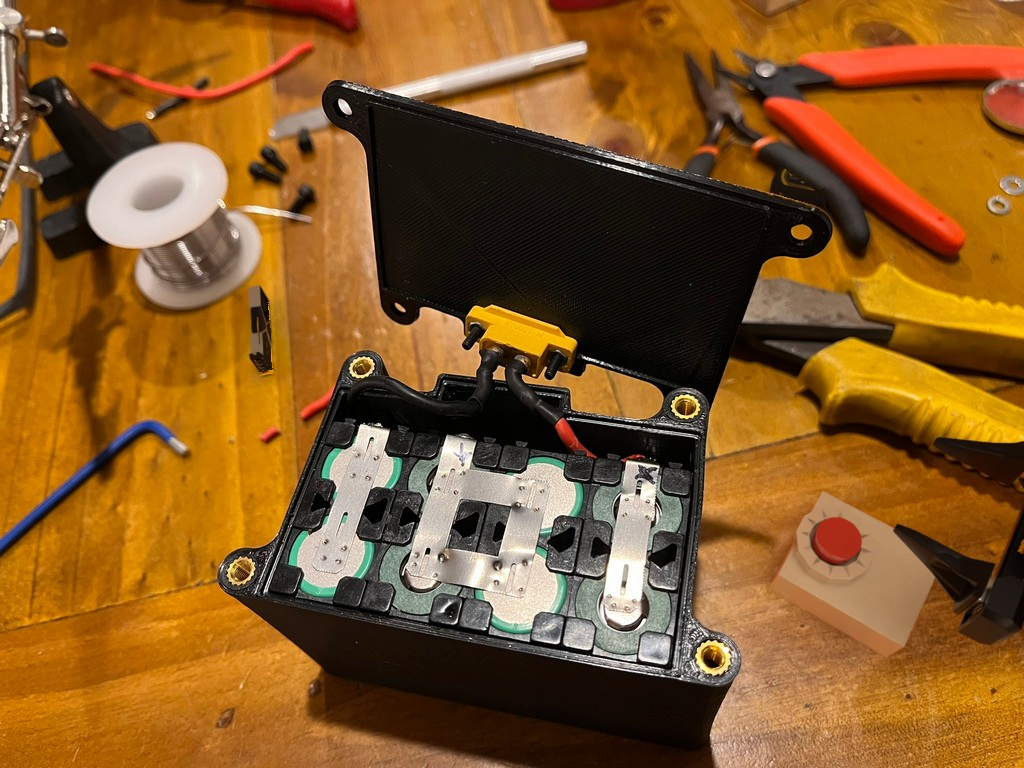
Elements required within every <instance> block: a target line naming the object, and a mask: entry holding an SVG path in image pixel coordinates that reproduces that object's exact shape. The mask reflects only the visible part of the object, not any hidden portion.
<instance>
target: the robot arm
mask: <svg viewBox="0 0 1024 768" xmlns="http://www.w3.org/2000/svg"><path fill="white" fill-rule="evenodd" d="M932 446H933V447H935V448H936V449H938V450H939V451H940V452H942V453H944V454H945V455H947V456H949V457H951V458H952V459H954V460H956V461H958V462H960V463H962V464H964V465H966V466H968V467H970V468H972V469H973V470H976V471H977V472H979V473H982V474H984V475H986V476H988V477H989V478H991V479H993V480H995V481H997V482H999V483H1001V484H1003V485H1005V486H1007V487H1011V486H1012V485H1013V484H1014V483H1015V482H1016V481H1017V480H1018V482H1019V484H1020V486H1021V487H1022V489H1023V490H1024V440H1020V441H1015V442H995V441H994V442H993V441H983V440H982V441H981V440H974V439H973V440H972V439H962V438H953V437H944V436H943V437H942V436H937V437H936V438H935V439H934V441H933V443H932ZM893 528H894V529H893V532H894V533H895V534H896V535H897V536H898V537H899V538H900V539H901V540H902V542H903V543H904V544H905V545H906V546H907V547H908V548H909V549H910V550H911V551H912V552H913V553H914V554H915V555H916V556H917V558H918V559H919V560H920V561H921V562H922V563H923V564H924V565H925V566H926V567H927V568H928V569H929V571H930V572H931V573H932V574H933V575H934V577H935V580H936V581H937V583H939V584H940V587H942V589H943V590H944V591H945V593H947V595H948V596H949V598H950V599H951V600H952V602H953V607H952V609H951V612H952V613H953V614H955V615H957V616H960V615H961V614H963V615H962V617H961V619H960V622H959V624H958V627H957V633H959V634H961V635H963V636H964V637H967V638H969V639H970V640H972V641H974V642H976V643H978V644H981V645H987V646H995V645H999V644H1001V643H1002V642H1005V641H1006V640H1008V639H1010V638H1011V637H1012V636H1014V635H1016V634H1017V633H1019V632H1020V631H1022V628H1023V626H1024V548H1023V550H1022V551H1021V552H1020V551H1019V550H1020V548H1021V545H1022V542H1023V541H1024V500H1023V501H1022V504H1021V506H1020V509H1019V511H1018V514H1017V516H1016V519H1015V522H1014V525H1013V527H1012V529H1011V532H1010V534H1009V537H1008V539H1007V542H1006V544H1005V547H1004V549H1003V551H1002V554H1001V556H1000V560H999V562H998V564H997V566H996V563H995V562H993V561H992V562H991V561H987V560H983V559H977V558H974V557H969V556H966V555H964V554H962V553H960V552H959V551H956V550H955V549H953V548H951V547H949V546H947V545H946V544H943V543H941V542H939V541H937V540H936V539H933V538H931V537H930V536H928V535H926V534H923V533H922V532H920V531H918V530H916V529H914V528H911V527H908V526H906V525H903V524H900V523H896V524H895V526H894V527H893ZM995 567H996V569H995ZM994 569H995V572H994V574H993V571H994ZM992 574H993V576H992Z"/></svg>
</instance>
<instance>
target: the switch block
mask: <svg viewBox="0 0 1024 768" xmlns="http://www.w3.org/2000/svg"><path fill="white" fill-rule="evenodd" d="M831 517H840V518H844V519H846V520H848V521H850V522H851V523H853V524H854V525H855V526H856V527H857V529H858V530H859V532H860V534H861V538H862V545H861V548H860V550H859V552H858V553H857V554H856V555H855V556H854V557H853V559H851V560H850V561H849V562H847V563H844V564H833V563H829V562H827V561H825V560H824V559H822V558H821V557H820V556H819V555H818V554H817V553H816V551H815V549H814V547H813V543H812V538H813V534H814V532H815V530H816V529H817V527H818V526H819V524H820V523H821V522H822V521H824V520H825V519H828V518H831ZM893 529H894V527H892V526H890V525H888V524H887V523H885V522H883V521H881V520H879V519H877V518H875V517H873V516H871V515H870V514H868V513H866V512H863V511H862V510H861V509H858V508H857V507H854V506H852V505H851V504H848V503H846V501H845V502H844V501H843V500H841V499H839V498H837V497H836V496H833V495H832V494H829V493H827V492H826V491H821V492H820V494H819V496H818V497H817V499H816V500H815V502H814V504H813V505H812V506H811V508H810V509H809V511H808V513H807V514H805V515H803V517H802V519H801V520H800V522H799V524H798V526H797V527H796V529H795V531H794V533H793V535H792V544H791V545H790V547H789V549H788V550H787V552H786V555H785V557H784V558H783V560H782V562H781V564H780V566H779V568H778V570H777V571H776V573H775V575H774V576H773V579H772V580H771V582H770V584H769V586H768V590H770V591H771V592H773V593H774V594H777V595H778V596H780V597H781V598H783V599H785V600H787V601H788V602H790V603H792V604H794V606H797V607H799V608H800V609H802V610H804V611H805V612H807V613H809V614H811V615H813V616H814V617H816V618H818V619H819V620H821V621H822V622H824V623H826V624H828V625H829V626H831V627H833V628H834V629H836V630H837V631H839V632H841V633H843V634H845V635H847V636H848V637H850V638H852V639H853V640H855V641H857V642H858V643H860V644H862V645H864V646H865V647H867V648H869V649H870V650H872V651H874V652H876V653H877V654H879V655H880V656H882V657H884V658H888V657H890V656H891V655H893V654H894V653H896V652H898V651H900V650H901V649H904V648H905V646H906V645H907V643H908V640H909V638H910V636H911V633H912V630H913V628H914V626H915V624H916V622H917V620H918V617H919V615H920V613H921V611H922V608H923V606H924V604H925V602H926V600H927V597H928V595H929V593H930V591H931V589H932V586H933V584H934V582H935V580H936V578H935V577H934V575H933V574H932V573H931V572H930V571H929V569H928V568H927V567H926V566H925V565H924V564H923V563H922V562H921V561H920V560H919V559H918V558H917V556H916V555H915V554H914V553H913V552H912V551H911V550H910V549H909V548H908V547H907V546H906V545H905V544H904V543H903V542H902V540H901V539H900V538H899V537H898V536H897V535H896V534H895V533H894V532H893Z"/></svg>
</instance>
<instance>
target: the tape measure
mask: <svg viewBox="0 0 1024 768" xmlns="http://www.w3.org/2000/svg"><path fill="white" fill-rule="evenodd" d="M770 192H771V193H774V194H777V195H781V196H784V197H787V198H791V199H794V200H798V201H801V202H805V203H808V204H812V205H815V206H817V207H820V208H821V209H823V208H825V209H823V210H824V211H825V210H826V204H827V203H826V201H827V198H826V199H825V197H823V196H822V195H820V194H819V193H817V192H816V191H815V190H814V189H812V188H811V187H810V186H808V185H807V184H805V182H803V181H801V180H799V179H798V178H797V177H796V176H794V175H792V174H791V173H790V172H789V171H787V170H786V169H785V168H783V167H782V166H781V167H779V168H778V169H777V170H776V171H775V173H774V175H773V177H772V179H771V183H770V188H769V193H770ZM825 203H826V204H825Z"/></svg>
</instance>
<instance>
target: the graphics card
mask: <svg viewBox="0 0 1024 768" xmlns="http://www.w3.org/2000/svg"><path fill="white" fill-rule="evenodd" d="M268 302H270V299H269V297H268V295H267V294H266V292H265V291H264V289H263V287H262V285H260V284H259V285H255V286H250V287H248V307H249V310H250V324H251V325H250V328H251V329H250V330H251V334H250V353H248V356H249V360H250V361H251V362H252V364H253V366H254V367H255V368H256V370H257V371H258V372H259V373H260V372H262V371H264V370H266V371H268V370H272V369H273V368H272V362H271V333H272V327H271V328H270V323H271V322H270V320H269V318H270V317H269V310H268V306H269V305H268V304H269V303H268ZM273 370H274V371H275V369H273ZM266 371H264V372H266Z"/></svg>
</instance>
